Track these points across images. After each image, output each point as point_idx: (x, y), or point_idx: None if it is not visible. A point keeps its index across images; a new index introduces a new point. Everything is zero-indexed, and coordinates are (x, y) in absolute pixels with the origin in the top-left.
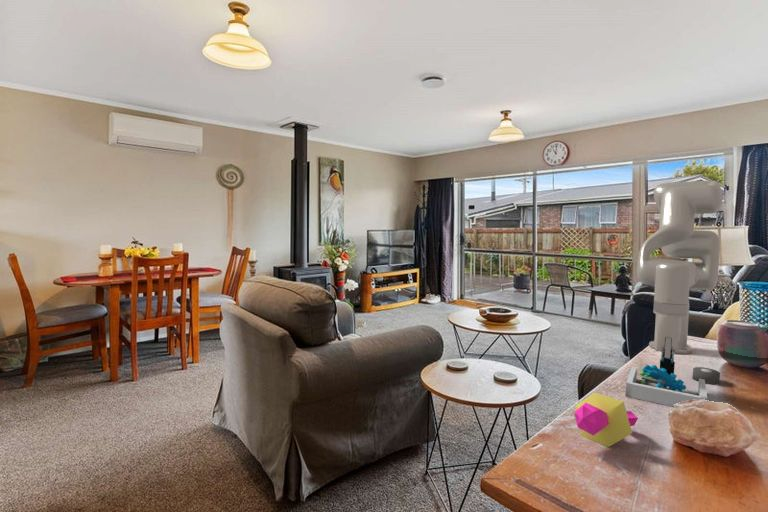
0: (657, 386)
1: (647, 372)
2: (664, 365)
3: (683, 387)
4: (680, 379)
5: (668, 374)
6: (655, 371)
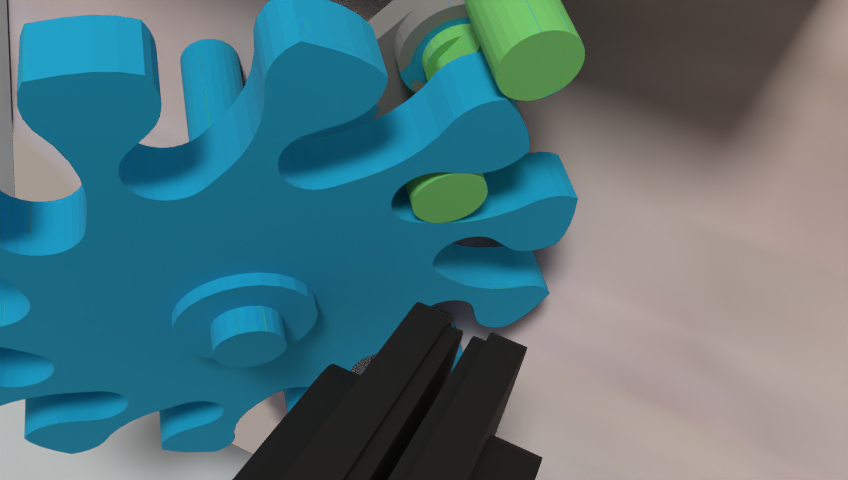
0: (187, 126)
1: (445, 109)
2: (243, 471)
3: (159, 412)
4: (26, 437)
5: (40, 353)
6: (81, 195)
